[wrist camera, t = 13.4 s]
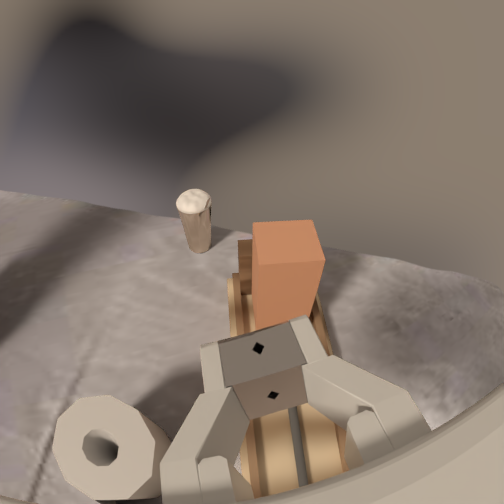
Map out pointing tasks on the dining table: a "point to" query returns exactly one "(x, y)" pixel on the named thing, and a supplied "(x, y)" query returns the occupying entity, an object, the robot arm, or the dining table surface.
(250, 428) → the channel
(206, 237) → the milkshake
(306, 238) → the panel
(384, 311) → the dining table surface
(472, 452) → the robot arm
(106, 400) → the toilet tissue
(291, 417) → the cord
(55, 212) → the dining table surface
